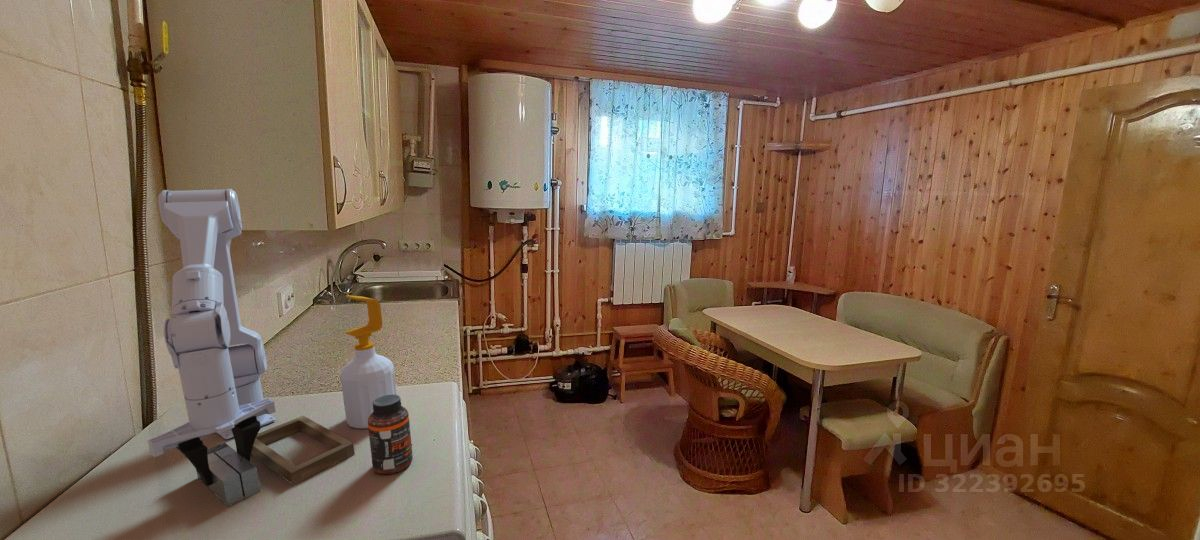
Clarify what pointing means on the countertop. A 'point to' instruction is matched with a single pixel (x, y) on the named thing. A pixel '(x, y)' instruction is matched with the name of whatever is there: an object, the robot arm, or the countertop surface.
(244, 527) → the countertop surface
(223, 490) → the grooved grey block
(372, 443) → the supplement bottle
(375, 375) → the soap bottle
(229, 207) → the robot arm
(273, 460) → the brown rectangular open frame
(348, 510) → the countertop surface
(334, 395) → the countertop surface
